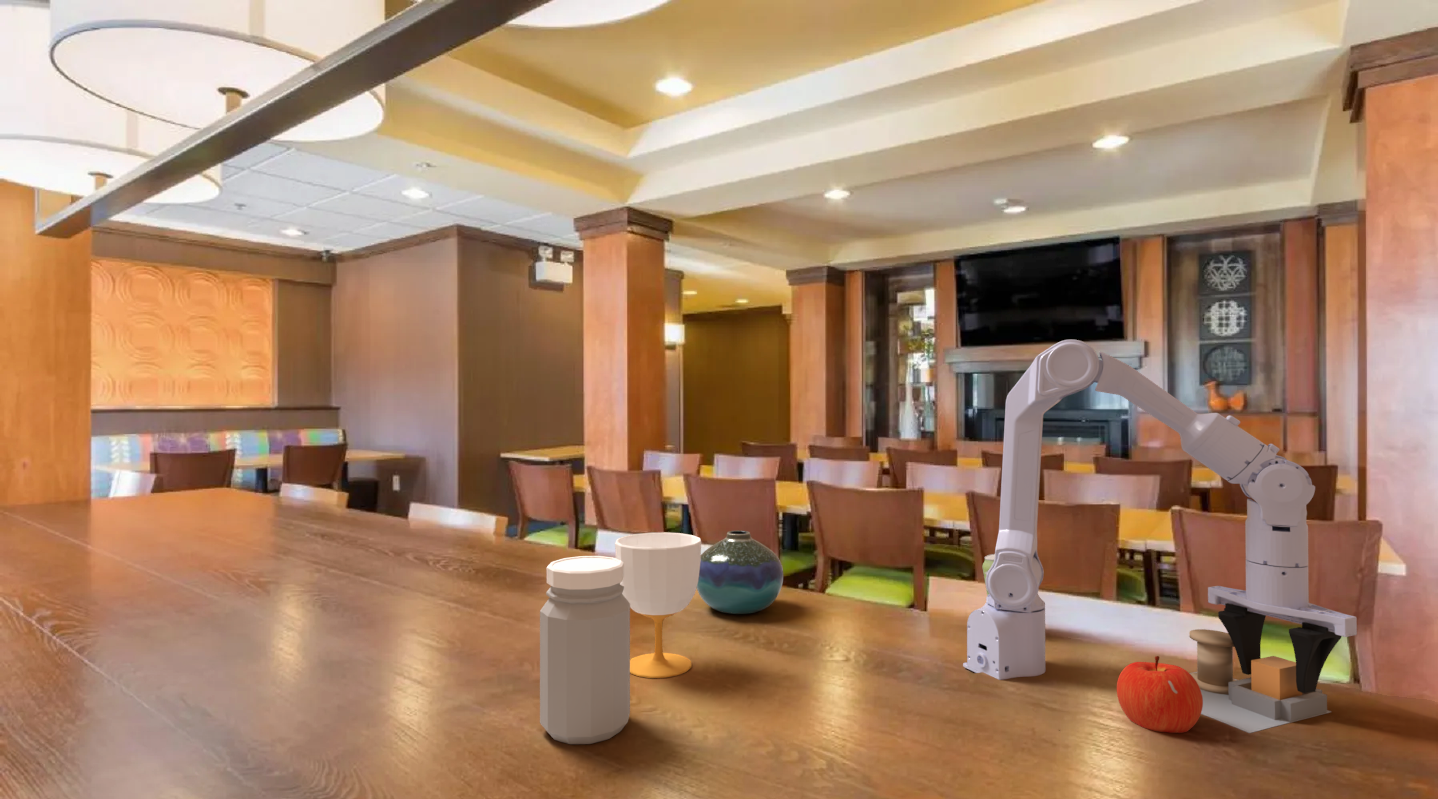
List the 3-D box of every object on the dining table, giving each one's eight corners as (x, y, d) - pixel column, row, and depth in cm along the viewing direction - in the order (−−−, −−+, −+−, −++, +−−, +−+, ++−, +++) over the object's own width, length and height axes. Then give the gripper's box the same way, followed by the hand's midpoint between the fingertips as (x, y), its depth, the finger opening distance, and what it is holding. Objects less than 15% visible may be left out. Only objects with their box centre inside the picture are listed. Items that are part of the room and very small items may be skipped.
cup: (648, 646, 107) (648, 529, 107) (717, 660, 101) (717, 537, 101) (596, 671, 97) (596, 543, 97) (670, 689, 91) (670, 551, 91)
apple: (1217, 749, 75) (1216, 670, 75) (1132, 742, 76) (1131, 666, 76) (1182, 716, 83) (1181, 645, 83) (1105, 711, 84) (1105, 641, 84)
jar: (642, 713, 84) (642, 556, 84) (611, 752, 74) (611, 575, 74) (563, 705, 86) (563, 552, 86) (523, 743, 76) (523, 570, 77)
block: (1279, 714, 81) (1279, 669, 81) (1251, 703, 84) (1251, 660, 84) (1302, 708, 83) (1302, 664, 83) (1273, 698, 86) (1273, 655, 86)
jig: (1249, 740, 77) (1249, 713, 77) (1130, 691, 90) (1130, 669, 90) (1332, 718, 82) (1332, 693, 82) (1208, 675, 95) (1208, 654, 95)
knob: (1222, 697, 86) (1222, 645, 86) (1177, 680, 91) (1177, 631, 91) (1253, 690, 88) (1253, 639, 88) (1207, 674, 93) (1207, 626, 93)
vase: (728, 593, 137) (727, 522, 137) (799, 606, 128) (799, 530, 128) (676, 612, 124) (675, 534, 125) (751, 628, 115) (751, 544, 116)
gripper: (1373, 572, 78) (1374, 699, 78) (1234, 548, 92) (1235, 656, 92) (1333, 578, 76) (1334, 710, 76) (1196, 552, 89) (1196, 664, 89)
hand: (1277, 681), depth 83 cm, fingers open, 5 cm apart
